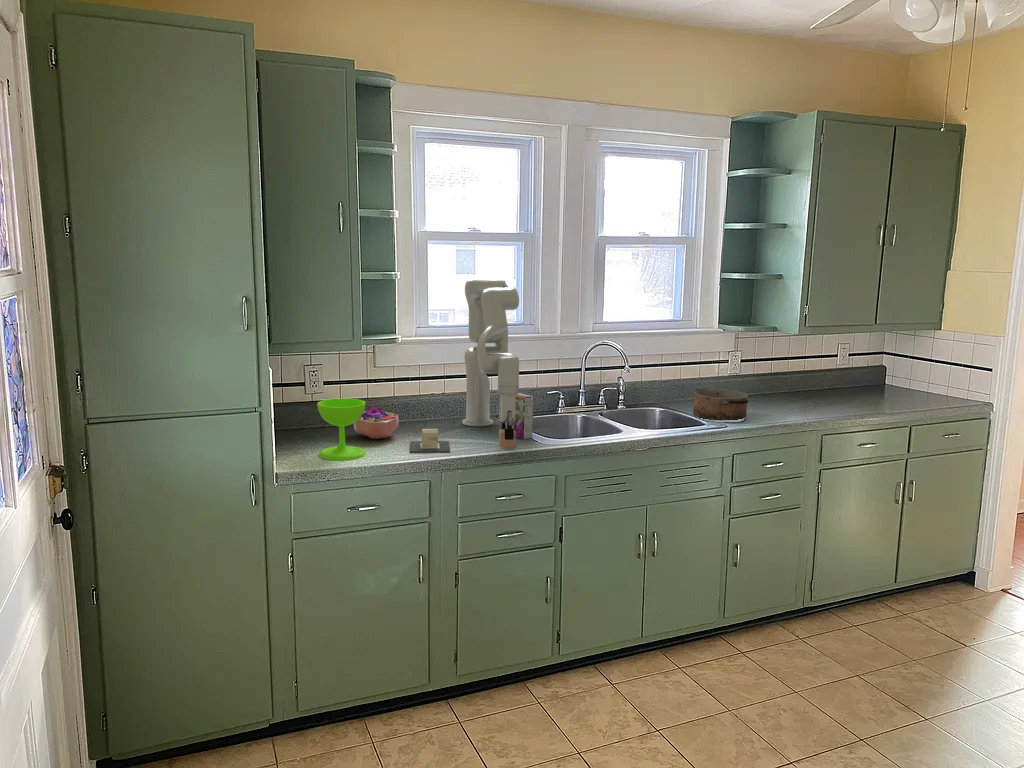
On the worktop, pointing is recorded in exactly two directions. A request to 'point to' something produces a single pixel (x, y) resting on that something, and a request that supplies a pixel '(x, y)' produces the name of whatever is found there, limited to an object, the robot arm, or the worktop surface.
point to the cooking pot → (720, 404)
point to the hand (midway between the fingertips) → (507, 436)
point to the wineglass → (341, 426)
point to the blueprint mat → (417, 448)
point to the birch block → (429, 438)
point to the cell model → (376, 423)
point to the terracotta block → (504, 442)
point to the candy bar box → (523, 416)
